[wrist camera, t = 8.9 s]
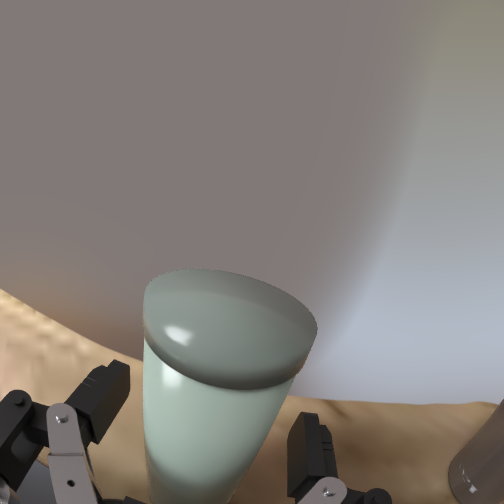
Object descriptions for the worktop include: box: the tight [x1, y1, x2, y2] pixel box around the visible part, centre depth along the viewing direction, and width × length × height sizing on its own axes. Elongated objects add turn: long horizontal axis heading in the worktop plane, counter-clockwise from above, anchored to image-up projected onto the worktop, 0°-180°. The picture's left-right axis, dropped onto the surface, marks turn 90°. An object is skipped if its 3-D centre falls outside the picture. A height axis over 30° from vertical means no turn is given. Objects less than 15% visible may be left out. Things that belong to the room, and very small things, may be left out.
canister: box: [142, 269, 317, 504], centre depth 10 cm, size 5×5×15 cm
